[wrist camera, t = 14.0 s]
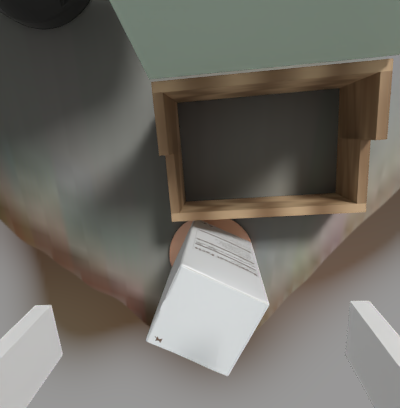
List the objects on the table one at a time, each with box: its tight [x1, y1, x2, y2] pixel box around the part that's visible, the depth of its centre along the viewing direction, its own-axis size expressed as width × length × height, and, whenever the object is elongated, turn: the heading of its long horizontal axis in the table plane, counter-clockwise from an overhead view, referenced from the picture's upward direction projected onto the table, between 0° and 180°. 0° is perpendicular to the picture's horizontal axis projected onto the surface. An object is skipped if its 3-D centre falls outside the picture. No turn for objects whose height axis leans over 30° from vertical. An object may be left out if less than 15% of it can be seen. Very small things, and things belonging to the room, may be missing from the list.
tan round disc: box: [169, 219, 253, 266], centre depth 40 cm, size 12×12×1 cm
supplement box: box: [146, 220, 269, 376], centre depth 32 cm, size 9×9×15 cm
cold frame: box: [151, 59, 393, 222], centre depth 32 cm, size 22×15×9 cm
